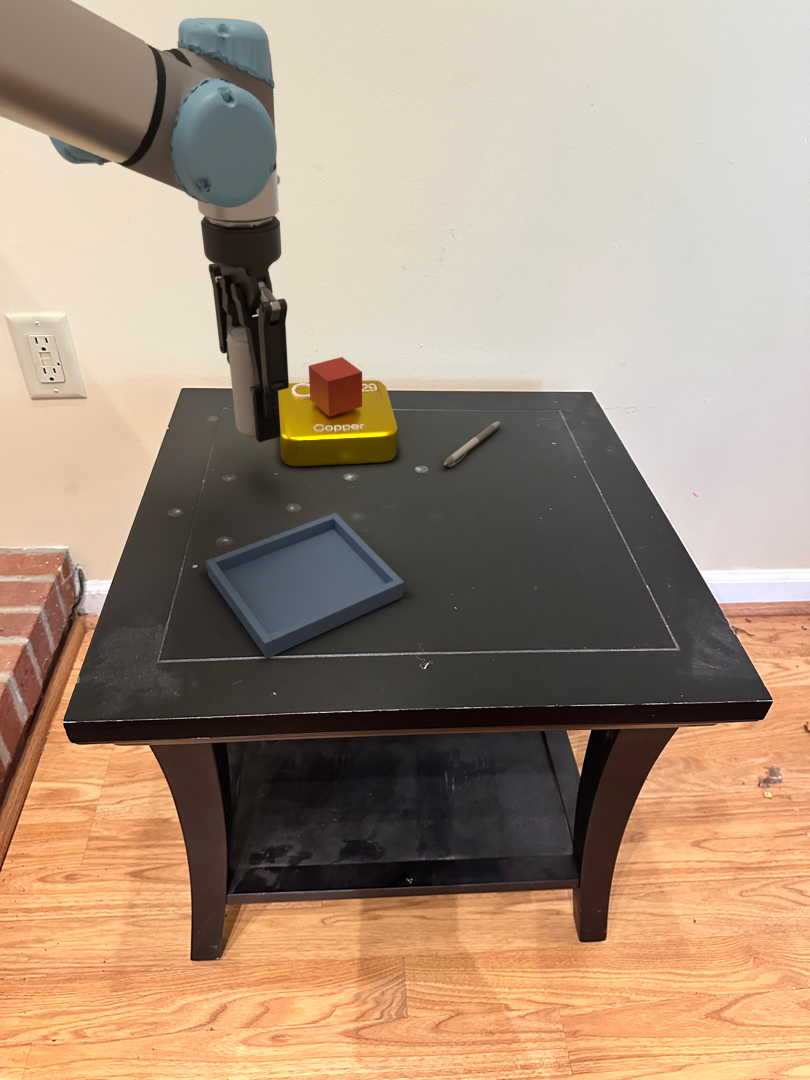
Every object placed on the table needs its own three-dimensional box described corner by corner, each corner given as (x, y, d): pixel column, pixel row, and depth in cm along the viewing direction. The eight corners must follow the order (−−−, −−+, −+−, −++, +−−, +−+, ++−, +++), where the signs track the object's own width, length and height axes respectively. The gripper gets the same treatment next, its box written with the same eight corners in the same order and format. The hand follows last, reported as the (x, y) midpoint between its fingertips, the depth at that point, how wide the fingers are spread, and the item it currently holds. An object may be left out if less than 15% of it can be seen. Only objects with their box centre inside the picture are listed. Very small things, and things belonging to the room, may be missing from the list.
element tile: (281, 468, 92) (279, 436, 89) (279, 409, 104) (276, 379, 101) (398, 462, 94) (400, 430, 91) (383, 405, 106) (384, 375, 103)
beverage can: (275, 441, 83) (268, 341, 76) (232, 438, 83) (222, 339, 75) (281, 420, 87) (275, 323, 79) (240, 417, 87) (231, 320, 79)
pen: (440, 469, 94) (441, 460, 93) (495, 426, 103) (497, 417, 102) (446, 472, 93) (447, 462, 92) (502, 428, 102) (503, 420, 101)
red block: (329, 416, 93) (328, 381, 90) (310, 400, 96) (308, 365, 93) (362, 406, 96) (362, 371, 92) (342, 391, 99) (341, 356, 96)
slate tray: (266, 658, 68) (264, 643, 67) (208, 575, 77) (205, 560, 75) (403, 596, 75) (404, 581, 74) (336, 526, 84) (335, 512, 82)
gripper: (320, 237, 66) (324, 454, 81) (236, 189, 77) (253, 388, 92) (244, 248, 63) (263, 473, 77) (168, 196, 74) (197, 402, 88)
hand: (258, 426), depth 85 cm, fingers closed on beverage can, 5 cm apart
